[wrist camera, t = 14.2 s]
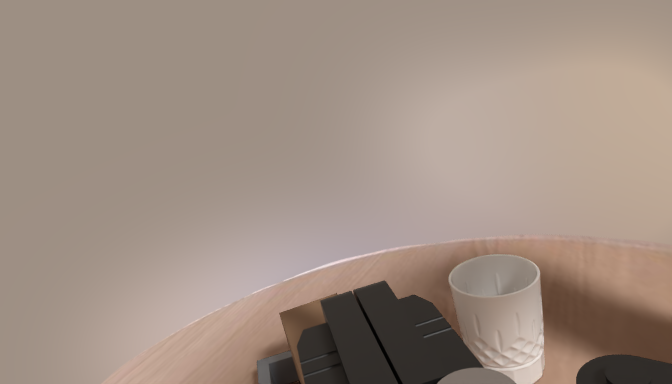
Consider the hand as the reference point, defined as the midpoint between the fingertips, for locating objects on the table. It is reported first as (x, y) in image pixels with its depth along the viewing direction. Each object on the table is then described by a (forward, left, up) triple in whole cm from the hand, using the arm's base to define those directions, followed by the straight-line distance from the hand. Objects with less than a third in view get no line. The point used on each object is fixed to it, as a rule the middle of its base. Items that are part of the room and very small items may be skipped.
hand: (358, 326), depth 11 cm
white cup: (-16, -29, -27) cm, 43 cm away
